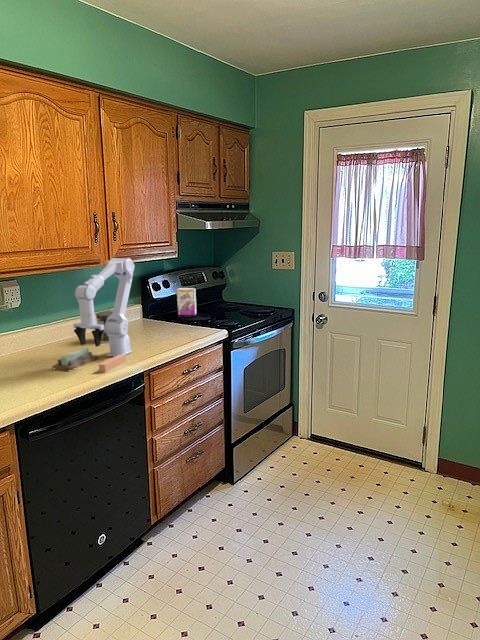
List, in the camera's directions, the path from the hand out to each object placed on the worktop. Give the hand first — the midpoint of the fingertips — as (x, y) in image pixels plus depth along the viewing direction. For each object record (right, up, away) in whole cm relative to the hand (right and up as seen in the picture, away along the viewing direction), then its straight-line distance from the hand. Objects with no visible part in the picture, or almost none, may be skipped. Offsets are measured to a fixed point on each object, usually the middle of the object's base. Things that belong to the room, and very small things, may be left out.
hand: (90, 345), depth 206 cm
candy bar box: (+31, +14, +96) cm, 102 cm away
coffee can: (-3, 0, +42) cm, 42 cm away
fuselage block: (-8, -7, +4) cm, 11 cm away
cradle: (-8, -8, +5) cm, 12 cm away
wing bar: (+10, -9, -1) cm, 14 cm away
